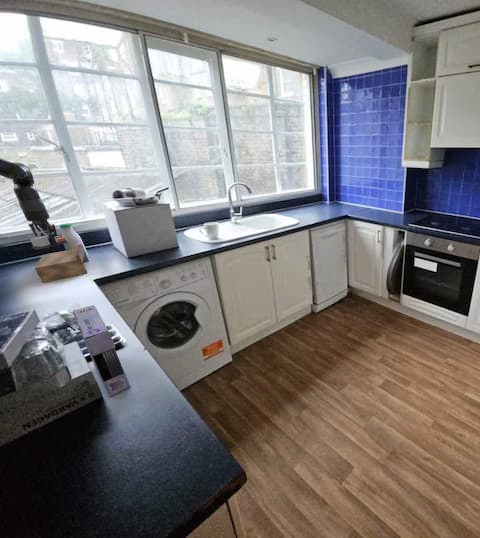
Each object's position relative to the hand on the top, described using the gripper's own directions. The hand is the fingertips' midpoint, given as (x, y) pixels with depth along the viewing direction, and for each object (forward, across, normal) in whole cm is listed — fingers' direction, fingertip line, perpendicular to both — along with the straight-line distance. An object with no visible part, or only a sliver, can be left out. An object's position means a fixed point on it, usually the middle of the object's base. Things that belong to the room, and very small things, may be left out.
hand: (50, 244), depth 139 cm
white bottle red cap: (0, 0, 0) cm, 0 cm away
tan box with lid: (+15, -3, +3) cm, 16 cm away
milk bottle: (+15, -16, +17) cm, 28 cm away
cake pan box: (+15, +98, -48) cm, 110 cm away
